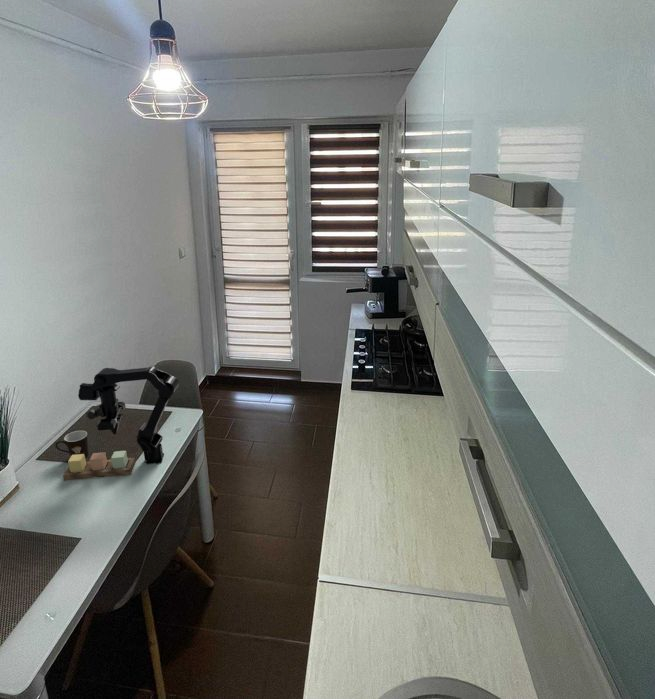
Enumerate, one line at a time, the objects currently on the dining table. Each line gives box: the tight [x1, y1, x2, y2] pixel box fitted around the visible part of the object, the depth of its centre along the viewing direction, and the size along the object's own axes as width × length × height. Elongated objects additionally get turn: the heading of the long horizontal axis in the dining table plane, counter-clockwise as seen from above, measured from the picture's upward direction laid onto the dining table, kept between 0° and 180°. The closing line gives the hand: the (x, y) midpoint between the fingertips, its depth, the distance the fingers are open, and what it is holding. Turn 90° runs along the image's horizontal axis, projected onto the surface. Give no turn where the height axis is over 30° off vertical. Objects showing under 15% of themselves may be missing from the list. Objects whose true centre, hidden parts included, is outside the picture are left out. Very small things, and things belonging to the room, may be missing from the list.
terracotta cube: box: [89, 451, 108, 471], centre depth 195 cm, size 5×5×5 cm
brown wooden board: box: [62, 457, 137, 482], centre depth 196 cm, size 25×9×2 cm, turn 98°
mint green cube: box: [110, 450, 129, 469], centre depth 196 cm, size 5×5×5 cm
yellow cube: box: [67, 454, 87, 472], centre depth 194 cm, size 5×5×5 cm
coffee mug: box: [55, 430, 90, 459], centre depth 204 cm, size 12×9×10 cm
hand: (115, 433), depth 200 cm, fingers closed
